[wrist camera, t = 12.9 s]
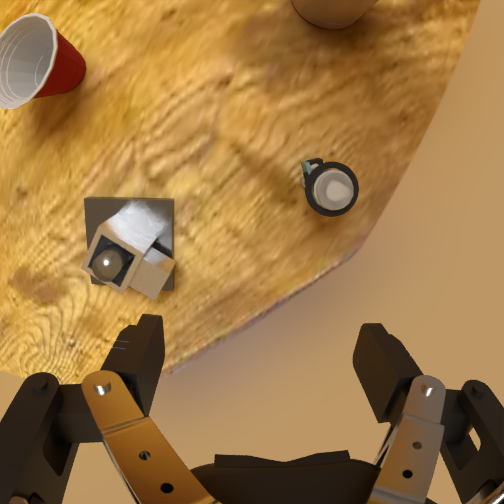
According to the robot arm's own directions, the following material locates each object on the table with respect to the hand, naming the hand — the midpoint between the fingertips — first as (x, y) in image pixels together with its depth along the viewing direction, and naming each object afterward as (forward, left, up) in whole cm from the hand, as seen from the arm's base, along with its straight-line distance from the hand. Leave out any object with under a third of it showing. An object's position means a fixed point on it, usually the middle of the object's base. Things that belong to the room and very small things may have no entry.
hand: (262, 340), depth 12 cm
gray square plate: (+6, -15, -28) cm, 32 cm away
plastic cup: (-17, -25, -28) cm, 41 cm away
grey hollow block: (+7, -13, -27) cm, 31 cm away
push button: (-3, +8, -28) cm, 30 cm away
